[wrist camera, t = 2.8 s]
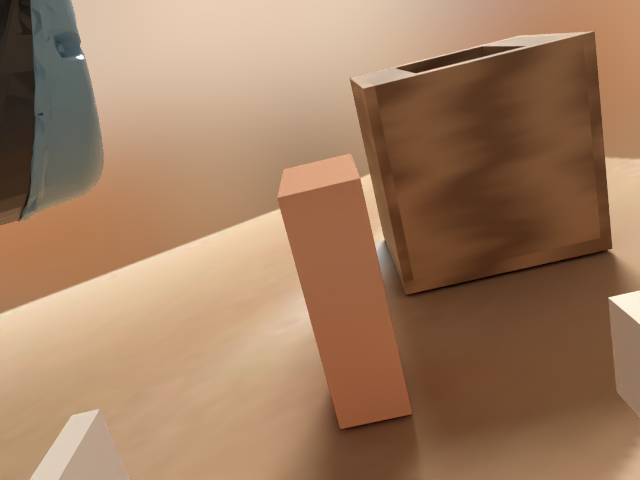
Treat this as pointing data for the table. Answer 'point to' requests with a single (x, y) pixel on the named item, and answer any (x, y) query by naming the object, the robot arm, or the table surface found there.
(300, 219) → the tall salmon pillar block
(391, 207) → the tip box
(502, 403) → the table surface
